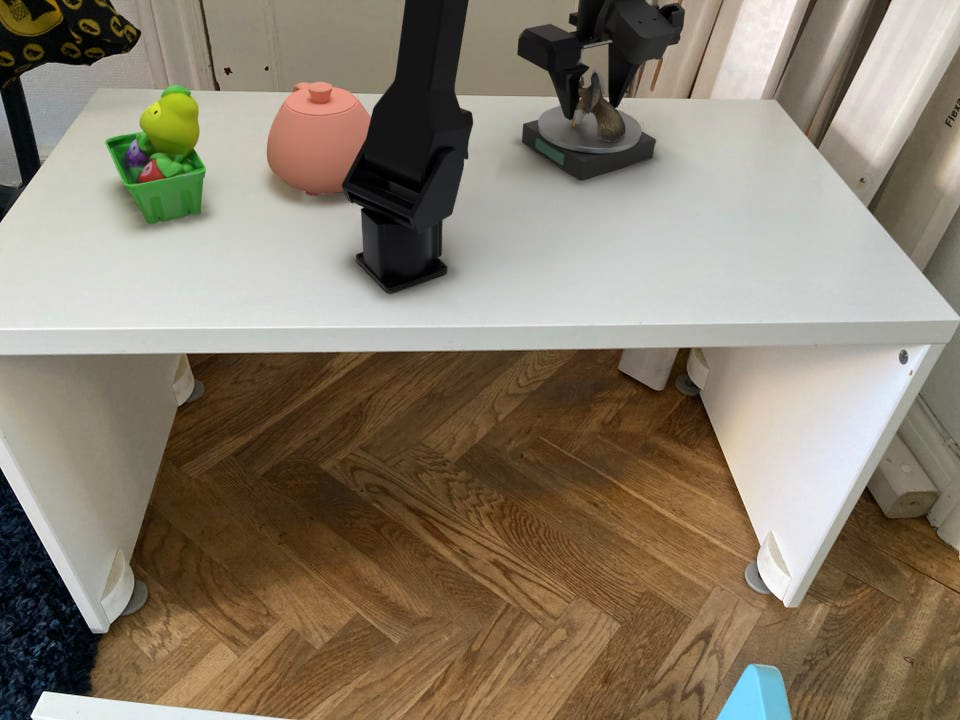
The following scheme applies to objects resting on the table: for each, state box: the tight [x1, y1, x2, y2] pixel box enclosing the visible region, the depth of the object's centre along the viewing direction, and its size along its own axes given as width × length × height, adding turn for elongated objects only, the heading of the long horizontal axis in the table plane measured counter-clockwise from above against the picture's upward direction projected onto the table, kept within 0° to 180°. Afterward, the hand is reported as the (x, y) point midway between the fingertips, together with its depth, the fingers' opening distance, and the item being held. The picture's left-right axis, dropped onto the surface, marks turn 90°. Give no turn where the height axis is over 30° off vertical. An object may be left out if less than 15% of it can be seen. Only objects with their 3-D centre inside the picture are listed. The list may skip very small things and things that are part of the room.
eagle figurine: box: [571, 68, 626, 143], centre depth 93 cm, size 8×7×9 cm
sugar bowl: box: [266, 81, 371, 197], centre depth 87 cm, size 12×14×10 cm
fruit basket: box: [104, 84, 207, 225], centre depth 81 cm, size 11×9×11 cm
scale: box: [521, 119, 657, 181], centre depth 96 cm, size 11×11×2 cm
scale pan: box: [537, 105, 643, 153], centre depth 95 cm, size 12×12×1 cm
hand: (591, 112), depth 94 cm, fingers closed on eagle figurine, 6 cm apart
